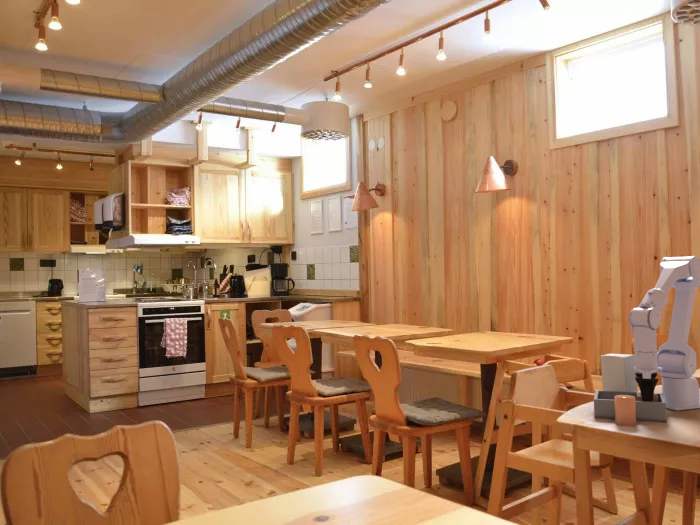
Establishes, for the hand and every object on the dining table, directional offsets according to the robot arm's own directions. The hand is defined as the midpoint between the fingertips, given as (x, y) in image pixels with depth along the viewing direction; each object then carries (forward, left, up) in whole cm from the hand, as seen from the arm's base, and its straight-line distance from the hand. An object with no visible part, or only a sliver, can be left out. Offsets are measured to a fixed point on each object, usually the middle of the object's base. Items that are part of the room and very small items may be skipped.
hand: (647, 400), depth 171 cm
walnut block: (0, 0, -3) cm, 3 cm away
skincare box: (-3, -15, -4) cm, 16 cm away
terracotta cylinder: (+12, +5, -4) cm, 13 cm away
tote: (+4, -3, -4) cm, 6 cm away
